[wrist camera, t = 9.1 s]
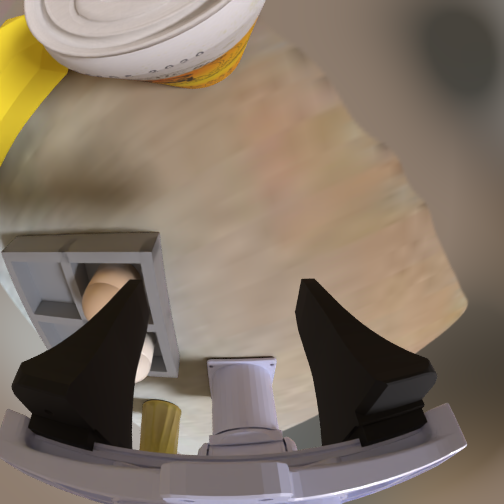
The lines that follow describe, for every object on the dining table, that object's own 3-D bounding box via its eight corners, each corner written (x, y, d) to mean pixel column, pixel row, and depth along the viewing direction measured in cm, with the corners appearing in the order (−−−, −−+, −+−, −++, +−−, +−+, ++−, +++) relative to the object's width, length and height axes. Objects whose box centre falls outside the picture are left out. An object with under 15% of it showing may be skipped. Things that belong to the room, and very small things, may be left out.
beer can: (157, 95, 17) (11, 114, 4) (152, 19, 13) (30, -73, 1) (245, 84, 17) (298, 52, 4) (240, 7, 14) (274, -133, 1)
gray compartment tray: (180, 356, 30) (177, 377, 28) (63, 345, 29) (56, 363, 26) (159, 232, 22) (151, 251, 19) (16, 236, 20) (1, 252, 18)
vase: (179, 419, 39) (176, 497, 27) (142, 412, 38) (134, 490, 26) (183, 403, 36) (180, 492, 24) (142, 396, 35) (132, 484, 23)
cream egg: (159, 350, 28) (152, 393, 24) (122, 347, 28) (111, 388, 23) (151, 322, 26) (141, 367, 21) (111, 320, 26) (96, 363, 21)
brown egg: (145, 299, 24) (132, 345, 20) (103, 297, 24) (84, 340, 19) (137, 258, 22) (118, 303, 17) (92, 258, 22) (66, 299, 17)
